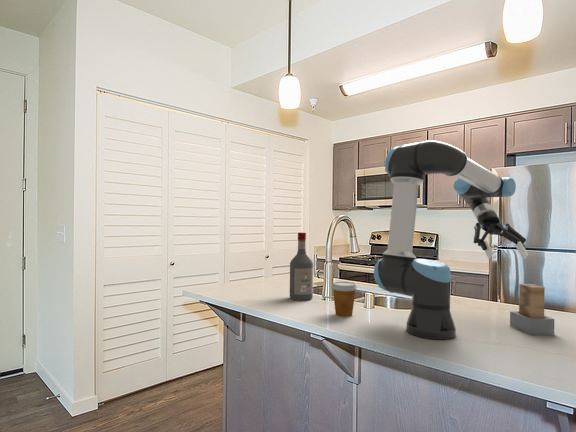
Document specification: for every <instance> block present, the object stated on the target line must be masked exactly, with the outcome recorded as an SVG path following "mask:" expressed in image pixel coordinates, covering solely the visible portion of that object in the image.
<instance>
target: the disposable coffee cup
mask: <svg viewBox="0 0 576 432" xmlns="http://www.w3.org/2000/svg"><path fill="white" fill-rule="evenodd" d="M357 288H358V287H357V285H356V283H355V282H351V281H335V282H333V283H332V285H331V289H332V294H333V301H334V311H335V315H336V316H338V317H343V318H344V317H345V318H349V317H352V316H353V313H354V312H353V311H354V304H355V299H356V298H355V296H356V291H357Z"/></svg>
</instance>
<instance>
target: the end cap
mask: <svg viewBox="0 0 576 432" xmlns="http://www.w3.org/2000/svg"><path fill="white" fill-rule="evenodd" d="M509 327H512V328H515V329H517V330H519V331H521V332H523V333H525V334H527V335H531V336H532V335H555V318H552V317H550V316H547V315H545V314H544V318H529V317H526V316H524V315H521V314H519V310H518V311H517V310H514V311H513V310H511V311H509Z"/></svg>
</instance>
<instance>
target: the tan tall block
mask: <svg viewBox="0 0 576 432" xmlns="http://www.w3.org/2000/svg"><path fill="white" fill-rule="evenodd" d="M518 285H519V287H518V288H519V289H518V290H519V291H518V292H519V294H518V296H519V299H518V301H519V302H518V311H519V314H521V315H524V316H526V317H529V318H544V315H545V293H546V292H545V290H546V288H545V286H541V285H538V284H532V283H519V284H518Z"/></svg>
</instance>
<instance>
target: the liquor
mask: <svg viewBox="0 0 576 432" xmlns="http://www.w3.org/2000/svg"><path fill="white" fill-rule="evenodd" d="M306 235H307V233H306V232H297V252H296V253H297V254H296V255H295V256H294V257H293V258H292V259H291V261H290V262H289V297H290V299H291V300H293V301H297V302H303V301H311V300H313V297H314V295H313V294H314V290H313V289H314V263H313V261H312V259H311V258H310V257H309V256H308V254H307V251H306V240H307V236H306Z"/></svg>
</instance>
